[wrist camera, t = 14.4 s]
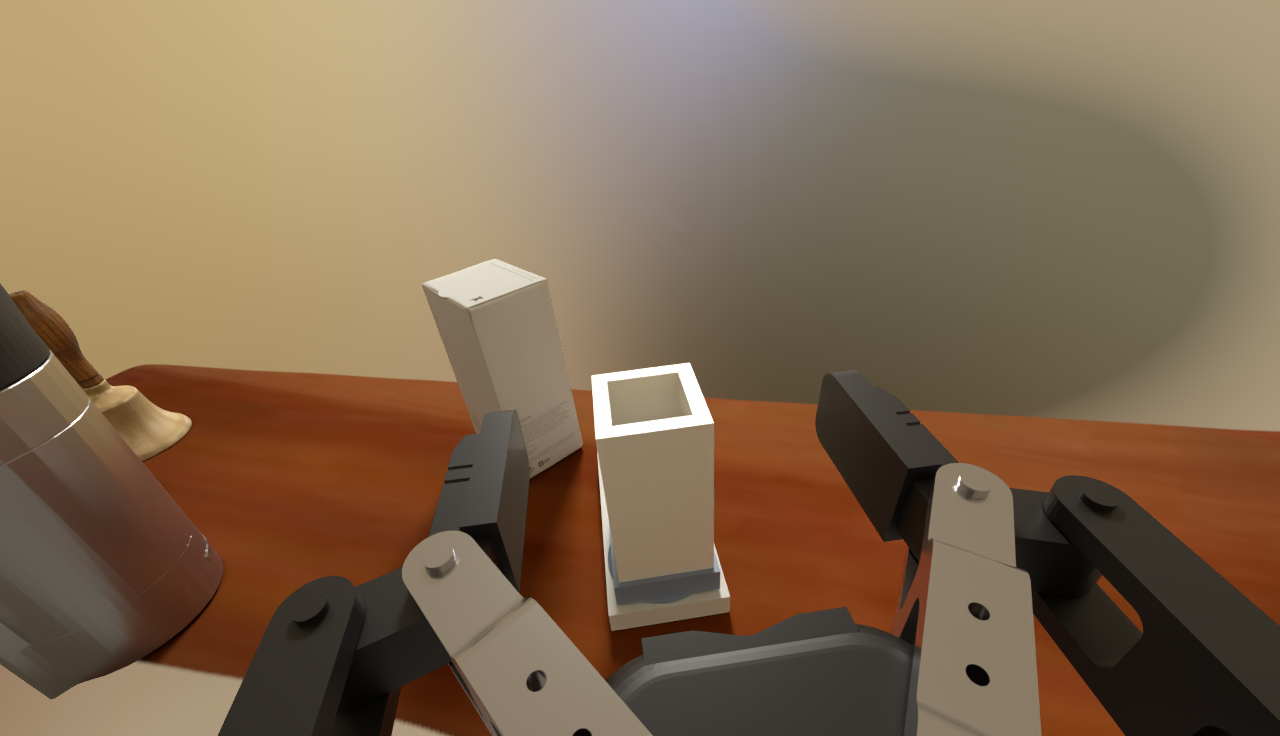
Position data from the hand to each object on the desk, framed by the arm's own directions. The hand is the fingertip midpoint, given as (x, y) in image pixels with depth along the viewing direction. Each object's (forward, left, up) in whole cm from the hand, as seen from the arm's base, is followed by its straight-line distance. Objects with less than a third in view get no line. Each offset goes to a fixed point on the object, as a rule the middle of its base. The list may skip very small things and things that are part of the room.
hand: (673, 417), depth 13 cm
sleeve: (+7, +7, -18) cm, 21 cm away
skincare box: (+11, +24, -20) cm, 33 cm away
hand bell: (-9, +58, -20) cm, 62 cm away
